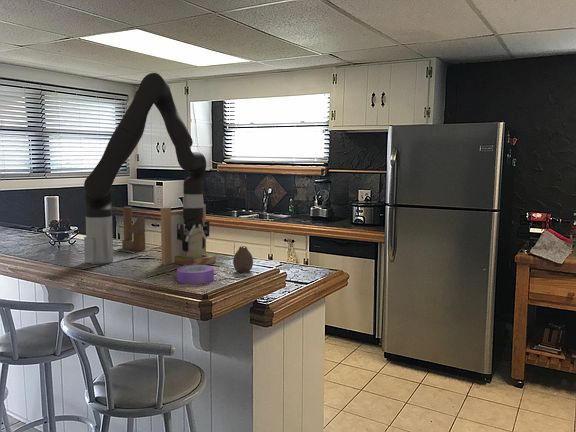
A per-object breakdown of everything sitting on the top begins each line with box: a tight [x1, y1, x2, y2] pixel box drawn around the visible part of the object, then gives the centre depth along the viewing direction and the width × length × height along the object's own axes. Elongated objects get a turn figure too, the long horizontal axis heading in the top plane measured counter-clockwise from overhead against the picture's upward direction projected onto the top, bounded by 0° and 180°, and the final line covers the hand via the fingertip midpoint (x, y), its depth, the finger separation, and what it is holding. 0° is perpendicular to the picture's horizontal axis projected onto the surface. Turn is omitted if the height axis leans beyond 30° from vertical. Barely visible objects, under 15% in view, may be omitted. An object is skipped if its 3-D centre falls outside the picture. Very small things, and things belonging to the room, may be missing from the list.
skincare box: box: [185, 227, 203, 259], centre depth 186 cm, size 6×4×12 cm
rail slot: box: [174, 253, 216, 266], centre depth 186 cm, size 10×11×2 cm
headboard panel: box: [160, 203, 207, 266], centre depth 189 cm, size 20×3×21 cm, turn 141°
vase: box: [232, 245, 254, 273], centre depth 172 cm, size 7×7×9 cm
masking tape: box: [176, 264, 215, 285], centre depth 160 cm, size 12×12×4 cm
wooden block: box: [121, 206, 146, 251], centre depth 213 cm, size 4×11×18 cm, turn 58°
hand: (193, 249), depth 186 cm, fingers closed on skincare box, 7 cm apart
